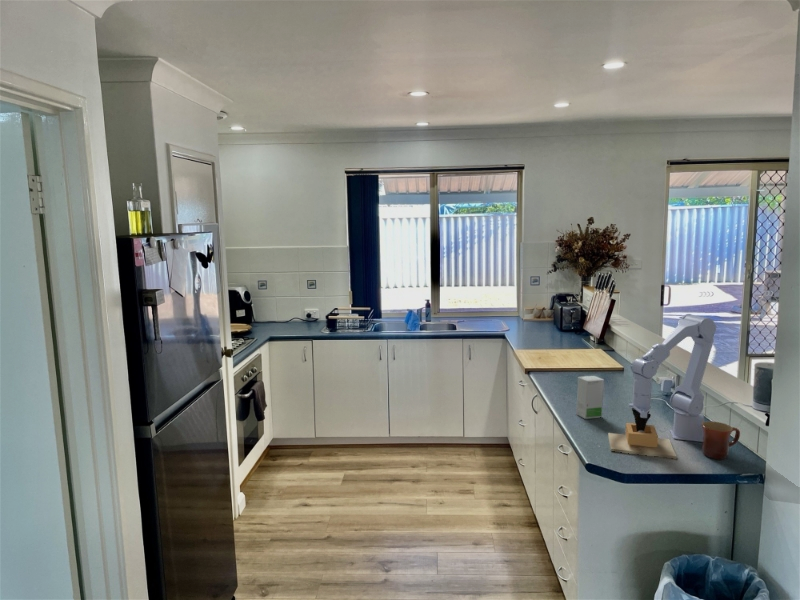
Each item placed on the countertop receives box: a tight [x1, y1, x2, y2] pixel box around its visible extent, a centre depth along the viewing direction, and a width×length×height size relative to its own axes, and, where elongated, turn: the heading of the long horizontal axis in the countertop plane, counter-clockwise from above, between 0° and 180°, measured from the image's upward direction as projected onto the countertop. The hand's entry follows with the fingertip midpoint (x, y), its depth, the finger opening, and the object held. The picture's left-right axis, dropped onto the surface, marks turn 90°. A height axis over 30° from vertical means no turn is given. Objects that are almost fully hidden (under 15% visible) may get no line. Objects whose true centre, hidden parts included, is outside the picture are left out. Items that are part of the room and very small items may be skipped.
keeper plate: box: [607, 430, 678, 460], centre depth 181 cm, size 20×14×6 cm
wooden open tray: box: [625, 422, 659, 447], centre depth 181 cm, size 9×9×4 cm
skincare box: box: [575, 375, 605, 420], centre depth 210 cm, size 8×7×16 cm
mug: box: [701, 420, 741, 460], centre depth 173 cm, size 12×9×10 cm
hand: (639, 430), depth 184 cm, fingers closed on wooden open tray
